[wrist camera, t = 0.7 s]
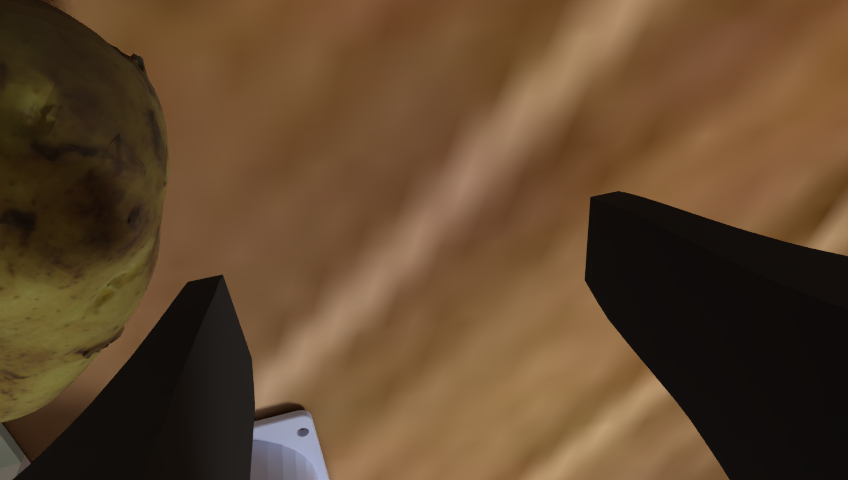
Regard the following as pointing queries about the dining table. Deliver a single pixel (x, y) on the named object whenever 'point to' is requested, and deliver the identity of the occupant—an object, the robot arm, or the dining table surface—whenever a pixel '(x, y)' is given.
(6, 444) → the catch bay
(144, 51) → the dining table surface
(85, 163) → the potato
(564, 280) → the dining table surface
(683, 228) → the robot arm
